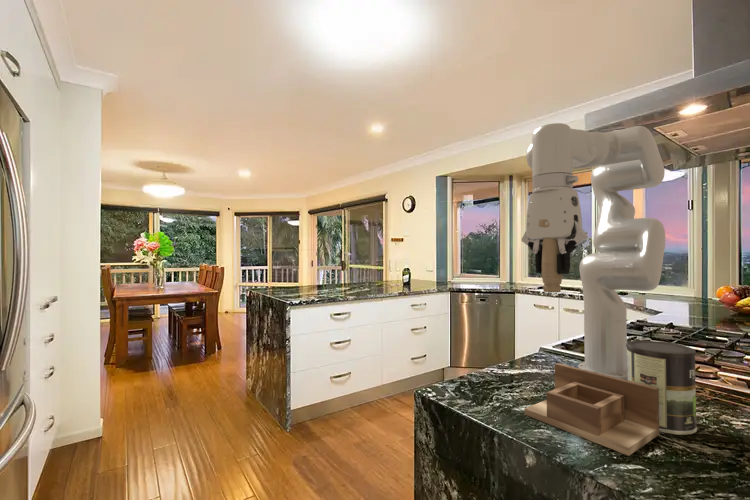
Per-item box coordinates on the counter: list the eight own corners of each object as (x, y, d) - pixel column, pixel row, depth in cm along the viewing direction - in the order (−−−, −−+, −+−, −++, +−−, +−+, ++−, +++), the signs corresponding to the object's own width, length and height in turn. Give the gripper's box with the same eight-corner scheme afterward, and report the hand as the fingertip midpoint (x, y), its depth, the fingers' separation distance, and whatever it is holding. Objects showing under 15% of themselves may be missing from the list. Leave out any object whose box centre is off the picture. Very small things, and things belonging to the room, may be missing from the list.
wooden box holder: (558, 400, 79) (557, 363, 79) (659, 434, 64) (658, 388, 64) (524, 414, 72) (524, 373, 72) (628, 455, 57) (628, 404, 57)
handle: (562, 294, 73) (562, 218, 73) (531, 291, 77) (531, 220, 78) (573, 292, 76) (572, 219, 76) (542, 290, 81) (542, 221, 81)
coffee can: (690, 417, 70) (689, 343, 71) (703, 441, 62) (701, 356, 62) (625, 406, 76) (624, 337, 76) (628, 426, 67) (627, 348, 67)
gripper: (603, 180, 72) (604, 274, 71) (528, 193, 86) (528, 271, 86) (582, 176, 68) (582, 275, 68) (506, 189, 82) (506, 272, 82)
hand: (552, 272), depth 77 cm, fingers closed on handle, 4 cm apart
